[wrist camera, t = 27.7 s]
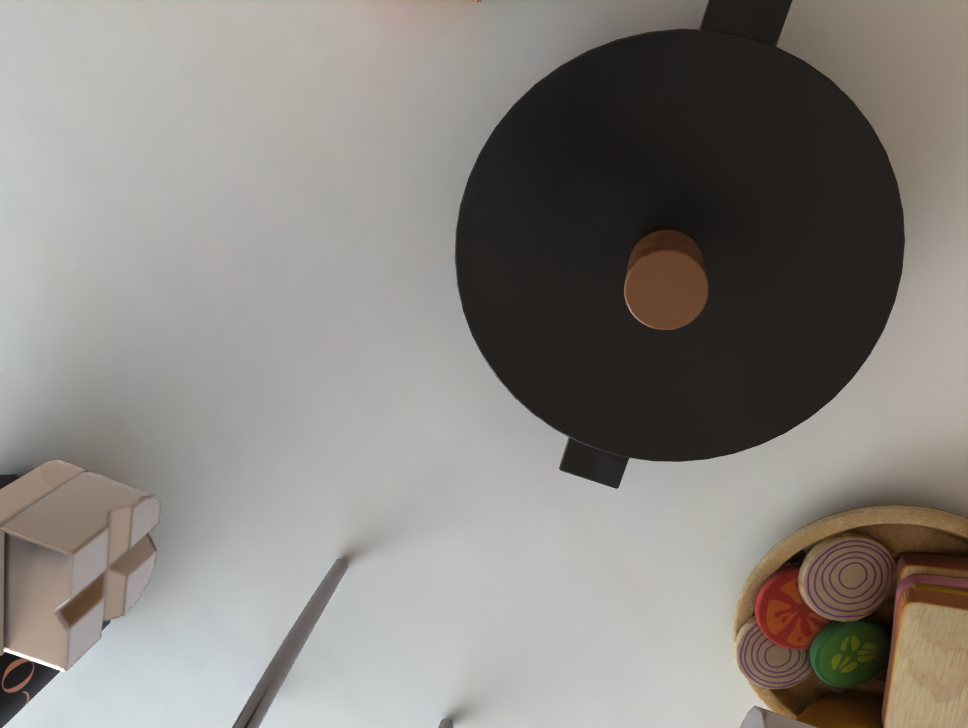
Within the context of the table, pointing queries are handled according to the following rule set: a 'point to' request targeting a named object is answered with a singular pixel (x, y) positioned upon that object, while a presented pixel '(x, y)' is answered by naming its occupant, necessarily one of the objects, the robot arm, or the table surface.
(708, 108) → the lid
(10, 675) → the coffee jar
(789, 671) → the toy sandwich meal
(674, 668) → the table surface
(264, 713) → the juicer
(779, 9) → the pan
